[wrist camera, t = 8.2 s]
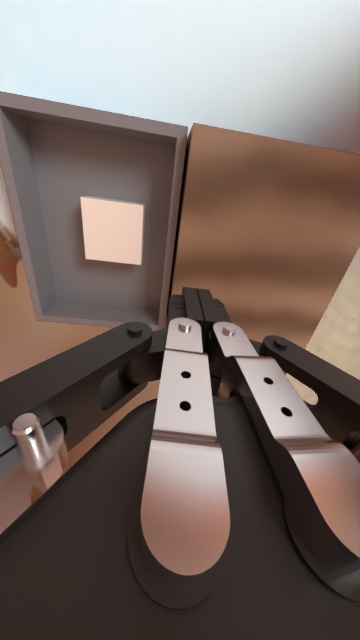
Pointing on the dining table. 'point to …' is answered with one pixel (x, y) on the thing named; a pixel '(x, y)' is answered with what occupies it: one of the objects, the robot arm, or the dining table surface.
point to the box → (65, 206)
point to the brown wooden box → (266, 228)
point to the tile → (113, 230)
